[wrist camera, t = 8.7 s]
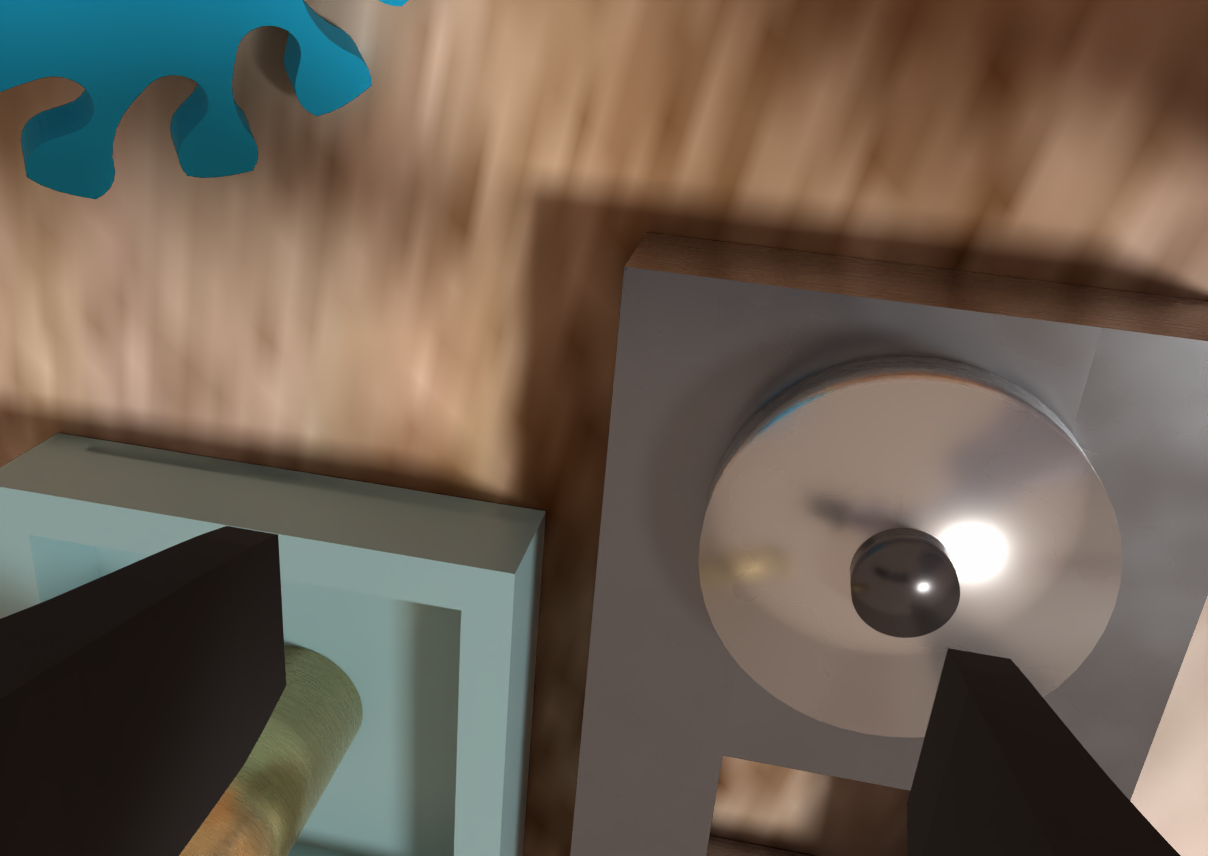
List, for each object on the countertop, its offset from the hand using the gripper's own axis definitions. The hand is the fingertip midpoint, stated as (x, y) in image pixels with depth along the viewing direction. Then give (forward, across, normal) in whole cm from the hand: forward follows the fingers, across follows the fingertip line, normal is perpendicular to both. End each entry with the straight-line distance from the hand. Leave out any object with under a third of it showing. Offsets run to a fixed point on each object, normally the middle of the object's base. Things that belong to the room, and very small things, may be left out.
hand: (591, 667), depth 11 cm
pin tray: (+9, +8, +9) cm, 15 cm away
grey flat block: (+9, -4, +6) cm, 12 cm away
